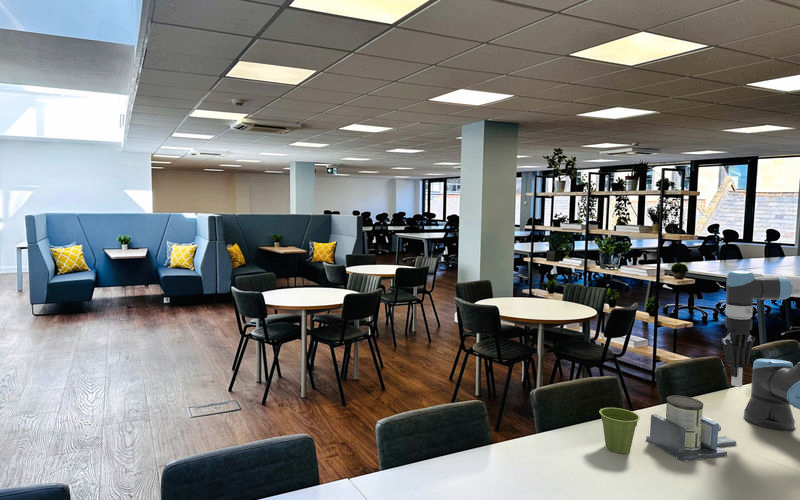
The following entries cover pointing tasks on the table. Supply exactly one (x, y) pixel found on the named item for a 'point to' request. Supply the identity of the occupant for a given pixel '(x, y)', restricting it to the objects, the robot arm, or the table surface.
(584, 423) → the table surface
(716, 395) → the table surface
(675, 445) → the vise base
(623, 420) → the plant pot
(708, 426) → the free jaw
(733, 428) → the table surface
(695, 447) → the coffee can
